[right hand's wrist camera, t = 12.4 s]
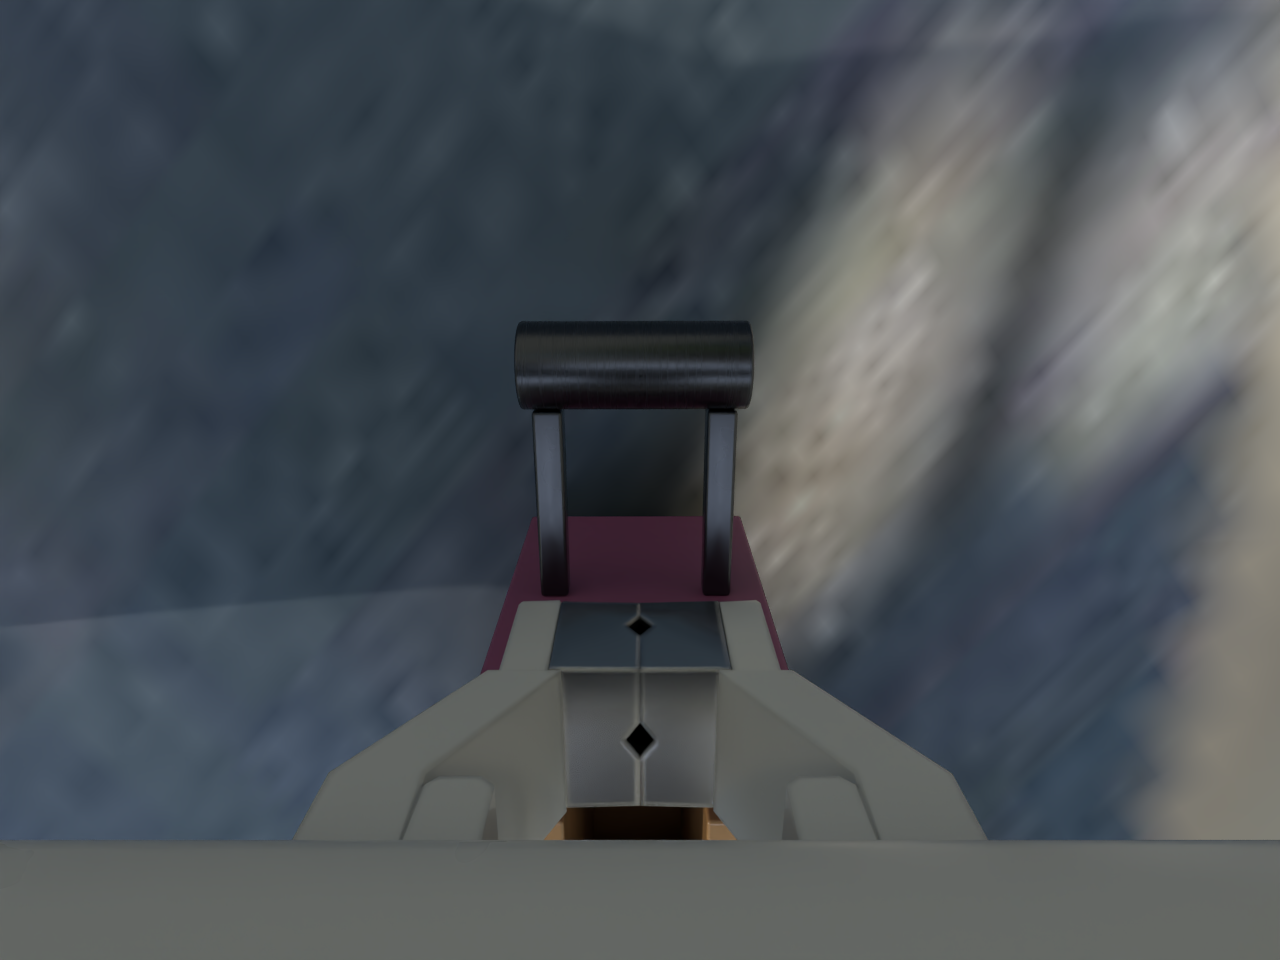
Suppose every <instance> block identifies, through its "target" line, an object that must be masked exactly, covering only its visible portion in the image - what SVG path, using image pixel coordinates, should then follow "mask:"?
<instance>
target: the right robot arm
mask: <svg viewBox="0 0 1280 960" xmlns="http://www.w3.org/2000/svg"><path fill="white" fill-rule="evenodd" d="M611 806H667V807H704V808H714V809H713V811H714V812H715V814H716V815H717V816H718V817H719V818H720V820H721V821H722V822H723V823H724V825H725V826H726V827H727V828H728V829H729V831H730V832H731V833H732V834H733V836H734V837H735V838H736V839H737V840H544V839H545V837H546V836H547V835H548V834H549V833H550V831H551V830H552V829H553V828H554V827H555V825H556V824H557V823H558V822H559V820H560V819H561V818H562V817H563V816H564V814H565V813H566V812H567V808H576V807H611ZM0 960H1280V840H988V839H987V837H986V835H985V833H984V832H983V830H982V828H981V826H980V824H979V822H978V821H977V819H976V817H975V815H974V813H973V811H972V809H971V808H970V806H969V804H968V802H967V800H966V798H965V796H964V795H963V793H962V791H961V789H960V787H959V785H958V784H957V782H956V780H955V778H954V776H953V774H952V773H950V772H949V771H947V770H946V769H944V768H943V767H941V766H940V765H938V764H936V763H935V762H933V761H932V760H930V759H929V758H927V757H926V756H924V755H923V754H921V753H919V752H918V751H916V750H915V749H913V748H912V747H910V746H909V745H907V744H906V743H904V742H902V741H901V740H899V739H898V738H896V737H895V736H893V735H892V734H890V733H889V732H887V731H886V730H884V729H882V728H881V727H879V726H878V725H876V724H875V723H873V722H872V721H870V720H869V719H867V718H865V717H864V716H862V715H861V714H859V713H858V712H856V711H855V710H853V709H852V708H850V707H848V706H847V705H845V704H844V703H842V702H841V701H839V700H838V699H836V698H835V697H833V696H832V695H830V694H828V693H827V692H825V691H824V690H822V689H821V688H819V687H818V686H816V685H815V684H813V683H811V682H810V681H808V680H807V679H805V678H804V677H802V676H801V675H799V674H798V673H796V672H794V671H793V670H781V669H780V666H779V662H778V659H777V656H776V652H775V649H774V646H773V643H772V639H771V636H770V633H769V629H768V626H767V623H766V620H765V616H764V613H763V610H762V607H761V603H760V602H758V601H757V600H747V601H726V602H718V601H695V602H653V603H635V602H581V601H563V602H562V603H561V601H560V600H549V601H523V602H521V603H520V604H519V606H518V609H517V612H516V615H515V619H514V622H513V625H512V629H511V632H510V635H509V639H508V642H507V645H506V649H505V652H504V655H503V659H502V662H501V665H500V669H499V670H487V671H486V672H484V673H482V674H481V675H479V676H478V677H476V678H475V679H473V680H472V681H470V682H468V683H467V684H465V685H464V686H462V687H461V688H459V689H458V690H456V691H455V692H453V693H451V694H450V695H448V696H447V697H445V698H444V699H442V700H441V701H439V702H437V703H436V704H434V705H433V706H431V707H430V708H428V709H427V710H425V711H424V712H422V713H420V714H419V715H417V716H416V717H414V718H413V719H411V720H410V721H408V722H406V723H405V724H403V725H402V726H400V727H399V728H397V729H396V730H394V731H393V732H391V733H389V734H388V735H386V736H385V737H383V738H382V739H380V740H379V741H377V742H375V743H374V744H372V745H371V746H369V747H368V748H366V749H365V750H363V751H362V752H360V753H358V754H357V755H355V756H354V757H352V758H351V759H349V760H348V761H346V762H344V763H343V764H341V765H340V766H338V767H337V768H335V769H334V770H332V771H331V772H329V773H328V775H327V777H326V779H325V781H324V782H323V784H322V786H321V788H320V790H319V792H318V793H317V795H316V797H315V799H314V801H313V803H312V804H311V806H310V808H309V810H308V812H307V813H306V815H305V817H304V819H303V821H302V823H301V824H300V826H299V828H298V830H297V832H296V834H295V835H294V837H293V839H292V840H0Z"/></svg>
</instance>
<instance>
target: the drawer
mask: <svg viewBox="0 0 1280 960" xmlns="http://www.w3.org/2000/svg"><path fill="white" fill-rule="evenodd" d="M514 370H515V384H516V392H517V398H518V402H519V405H520V407H521V408H522V409H534V411H533V413H532V427H533V447H534V466H535V485H536V505H537V517H533V518H532V520H531V523H530V526H529V529H528V532H527V535H526V538H525V541H524V544H523V547H522V550H521V553H520V556H519V559H518V562H517V565H516V568H515V571H514V574H513V577H512V580H511V583H510V587H509V590H508V593H507V596H506V599H505V602H504V605H503V608H502V611H501V614H500V617H499V620H498V623H497V626H496V629H495V632H494V635H493V638H492V641H491V644H490V647H489V650H488V653H487V656H486V659H485V662H484V665H483V668H482V671H481V674H482V673H484V672H486V671H487V670H499V669H500V665H501V662H502V659H503V655H504V652H505V649H506V645H507V642H508V639H509V635H510V632H511V629H512V625H513V622H514V619H515V615H516V612H517V609H518V606H519V604H520V603H521V602H523V601H549V600H560V601H561V603H562V602H563V601H581V602H635V603H653V602H695V601H718V602H726V601H747V600H757V601H758V602H760V603H761V607H762V610H763V613H764V616H765V620H766V623H767V626H768V629H769V633H770V636H771V639H772V643H773V646H774V649H775V652H776V656H777V659H778V662H779V666H780V669H781V670H788V667H787V664H786V660H785V657H784V654H783V651H782V648H781V645H780V641H779V638H778V635H777V632H776V629H775V626H774V622H773V619H772V616H771V613H770V610H769V607H768V603H767V600H766V597H765V594H764V591H763V588H762V584H761V581H760V578H759V575H758V572H757V569H756V565H755V562H754V559H753V556H752V553H751V550H750V546H749V543H748V540H747V537H746V534H745V531H744V527H743V524H742V521H741V518H740V517H739V516H733V511H734V487H735V463H736V439H737V415H738V414H737V411H736V409H746V408H748V407H749V404H750V401H751V397H752V390H753V380H754V341H753V332H752V327H751V324H750V322H748V321H522V322H520V323H519V324H518V327H517V330H516V336H515V348H514ZM564 409H706V413H705V450H704V487H703V516H620V517H568V504H567V477H566V450H565V423H564ZM481 674H480V675H481ZM713 809H714V808H704V807H667V806H611V807H576V808H567V812H566V813H565V814H564V816H563V817H562V818H561V819H560V820H559V822H558V823H557V824H556V825H555V827H554V828H553V829H552V830H551V831H550V833H549V834H548V835H547V836H546V837H545V839H544V840H737V839H736V838H735V837H734V836H733V834H732V833H731V832H730V831H729V829H728V828H727V827H726V826H725V825H724V823H723V822H722V821H721V820H720V818H719V817H718V816H717V815H716V814H715V812H714V811H713Z"/></svg>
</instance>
